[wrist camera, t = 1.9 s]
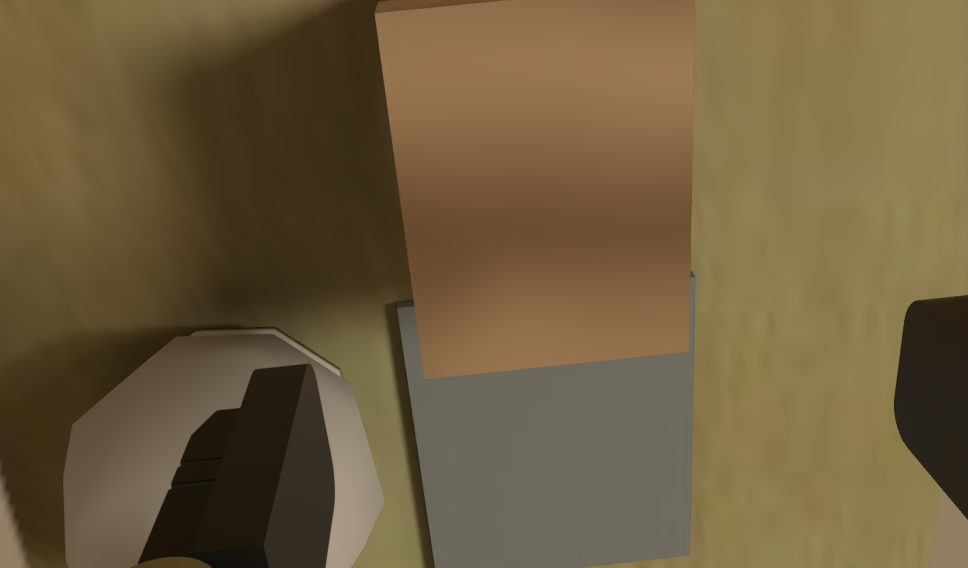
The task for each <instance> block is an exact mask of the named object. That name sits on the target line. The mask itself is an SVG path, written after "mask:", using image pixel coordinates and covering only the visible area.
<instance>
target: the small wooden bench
mask: <svg viewBox="0 0 968 568" xmlns="http://www.w3.org/2000/svg"><path fill="white" fill-rule="evenodd" d="M375 20H376V28H377V35H378V42H379V50H380V57H381V64H382V72H383V79H384V86H385V94H386V101H387V108H388V116H389V123H390V130H391V138H392V145H393V152H394V160H395V167H396V174H397V182H398V189H399V196H400V204H401V211H402V218H403V226H404V233H405V240H406V248H407V255H408V262H409V270H410V277H411V285H412V292H413V299H414V307H415V314H416V321H417V329H418V336H419V343H420V351H421V358H422V365H423V373H424V379H433V378H443V377H452V376H461V375H471V374H480V373H490V372H499V371H509V370H518V369H528V368H537V367H547V366H556V365H566V364H575V363H585V362H594V361H604V360H613V359H622V358H632V357H641V356H651V355H660V354H670V353H679V352H689V320H690V265H691V209H692V153H693V97H694V41H695V0H387V1H378V4H377V7H376V10H375Z"/></svg>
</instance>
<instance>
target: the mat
mask: <svg viewBox="0 0 968 568" xmlns="http://www.w3.org/2000/svg"><path fill="white" fill-rule="evenodd" d="M397 311H398V318H399V325H400V332H401V339H402V346H403V352H404V359H405V366H406V373H407V380H408V387H409V393H410V400H411V407H412V414H413V421H414V428H415V434H416V441H417V448H418V455H419V462H420V469H421V476H422V482H423V489H424V496H425V503H426V510H427V517H428V523H429V530H430V537H431V544H432V551H433V558H434V565H435V568H579V567H588V566H597V565H606V564H615V563H625V562H634V561H643V560H652V559H661V558H670V557H679V556H689V555H690V516H691V467H692V419H693V371H694V323H695V276H694V274H693V272H692V271H691V272H690V320H689V352H679V353H670V354H660V355H651V356H641V357H632V358H622V359H613V360H604V361H594V362H585V363H575V364H566V365H556V366H547V367H537V368H528V369H518V370H509V371H499V372H490V373H480V374H471V375H461V376H452V377H443V378H433V379H424V373H423V365H422V358H421V351H420V343H419V336H418V329H417V321H416V314H415V307H414V300H412V301H403V302H397Z"/></svg>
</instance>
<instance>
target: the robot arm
mask: <svg viewBox="0 0 968 568" xmlns="http://www.w3.org/2000/svg"><path fill="white" fill-rule="evenodd" d="M894 413H895V419H896V424H897V427H898V430H899V433H900V436H901V438H902V440H903V442H904V443H905V445H906V446H907V448H908V449H909V450H910V451H911V452H912V454H913V455H914V456H915V457H916V458H917V460H918V461H919V462H920V463H921V464H922V466H923V467H924V468H925V469H926V470H927V472H928V473H929V474H930V475H931V476H932V478H933V479H934V480H935V481H936V482H937V484H938V485H939V486H940V487H941V488H942V490H943V491H944V492H945V493H946V494H947V496H948V497H949V498H950V499H951V500H952V501H953V502H954V504H955V505H956V506H957V507H958V509H959V510H960V511H961V512H962V513H963V515H964V516H965V517H966V518H967V519H968V295H964V296H954V297H945V298H936V299H926V300H917V301H914V302H913V303H912V304H911V305H910V306H909V308H908V310H907V312H906V315H905V320H904V327H903V335H902V343H901V350H900V358H899V366H898V374H897V381H896V389H895V397H894ZM334 505H335V479H334V468H333V461H332V456H331V450H330V445H329V440H328V435H327V430H326V425H325V420H324V415H323V410H322V404H321V399H320V394H319V389H318V384H317V379H316V375H315V372H314V369H313V367H312V365H311V364H310V363H308V364H299V365H289V366H280V367H270V368H261V369H255V370H254V371H253V372H252V375H251V378H250V380H249V383H248V386H247V389H246V392H245V395H244V398H243V401H242V404H241V406H240V408H233V409H224V410H216V411H215V412H214V413H213V414H212V415H211V416H210V417H209V418H208V419H207V420H206V421H205V422H204V423H203V424H202V425H201V426H200V427H199V428H198V429H197V430H196V431H195V432H194V433H193V434H192V435H191V436H190V439H189V441H188V444H187V446H186V448H185V451H184V453H183V456H182V458H181V460H180V467H178V468H177V470H176V472H175V475H174V477H173V480H172V482H171V489H168V492H167V494H166V496H165V499H164V501H163V504H162V506H161V508H160V511H159V513H158V516H157V518H156V520H155V523H154V525H153V528H152V530H151V532H150V535H149V537H148V540H147V542H146V544H145V547H144V549H143V552H142V554H141V556H140V559H139V561H138V564H137V565H135V566H133V567H130V568H326V561H327V554H328V547H329V540H330V533H331V526H332V520H333V513H334Z"/></svg>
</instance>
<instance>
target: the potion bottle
mask: <svg viewBox="0 0 968 568" xmlns="http://www.w3.org/2000/svg"><path fill="white" fill-rule="evenodd" d="M308 363H310V364H311V365H312V367H313V369H314V372H315V375H316V379H317V384H318V389H319V394H320V399H321V404H322V410H323V415H324V420H325V425H326V430H327V435H328V440H329V445H330V450H331V456H332V461H333V468H334V479H335V505H334V513H333V520H332V526H331V533H330V540H329V547H328V554H327V561H326V568H351V566H352V565H353V563H354V562H355V560H356V559H357V557H358V556H359V554H360V553H361V551H362V550H363V548H364V546H365V544H366V542H367V539H368V537H369V535H370V533H371V531H372V528H373V526H374V524H375V522H376V519H377V517H378V515H379V513H380V510H381V508H382V506H383V504H384V502H385V500H384V496H383V493H382V489H381V486H380V482H379V479H378V475H377V472H376V468H375V465H374V461H373V458H372V454H371V451H370V447H369V444H368V440H367V437H366V433H365V430H364V426H363V423H362V419H361V416H360V413H359V409H358V406H357V402H356V399H355V395H354V392H353V389H352V385H351V383H349V382H348V381H346V380H345V379H343V378H342V374H341V371H340V368H338V367H337V366H335V365H334V364H332V363H331V362H329V361H328V360H326V359H325V358H323V357H321V356H320V355H318V354H317V353H315V352H314V351H312V350H311V349H309V348H308V347H306V346H304V345H303V344H301V343H300V342H298V341H297V340H295V339H294V338H292V337H291V336H289V335H287V334H286V333H284V332H283V331H281V330H280V329H278V328H277V327H260V328H225V329H196V330H195V331H194V332H193V333H192V334H190V335H189V336H177V337H175V338H174V339H173V340H172V341H170V342H169V343H168V344H167V345H165V346H164V347H163V348H162V349H161V350H159V351H158V352H157V353H156V354H154V355H153V356H152V357H151V358H149V359H148V360H147V361H146V362H145V363H143V364H142V365H141V366H140V367H139V368H138V369H136V370H135V371H134V372H133V373H132V374H131V375H129V376H128V377H127V378H126V379H125V380H124V381H122V382H121V383H120V384H119V385H118V386H117V387H115V388H114V389H113V390H112V391H111V392H110V393H108V394H107V395H106V396H105V397H104V398H103V399H101V400H100V401H99V402H98V403H97V404H96V405H94V406H93V407H92V408H91V409H90V410H89V411H87V412H86V413H85V414H84V415H83V416H82V417H80V418H79V419H78V420H77V421H76V422H75V423H73V424H72V429H71V435H70V440H69V446H68V452H67V457H66V463H65V469H64V475H63V491H64V523H65V555H66V562H67V565H68V567H69V568H130V567H133V566H135V565H137V564H138V561H139V559H140V556H141V554H142V552H143V549H144V547H145V544H146V542H147V540H148V537H149V535H150V532H151V530H152V528H153V525H154V523H155V520H156V518H157V516H158V513H159V511H160V508H161V506H162V504H163V501H164V499H165V496H166V494H167V492H168V489H171V482H172V480H173V477H174V475H175V472H176V470H177V468H178V467H180V460H181V458H182V456H183V453H184V451H185V448H186V446H187V444H188V441H189V439H190V436H191V435H192V434H193V433H194V432H195V431H196V430H197V429H198V428H199V427H200V426H201V425H202V424H203V423H204V422H205V421H206V420H207V419H208V418H209V417H210V416H211V415H212V414H213V413H214V412H215V411H216V410H224V409H233V408H240V406H241V404H242V401H243V398H244V395H245V392H246V389H247V386H248V383H249V380H250V378H251V375H252V372H253V371H254V370H255V369H261V368H270V367H280V366H289V365H299V364H308Z"/></svg>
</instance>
